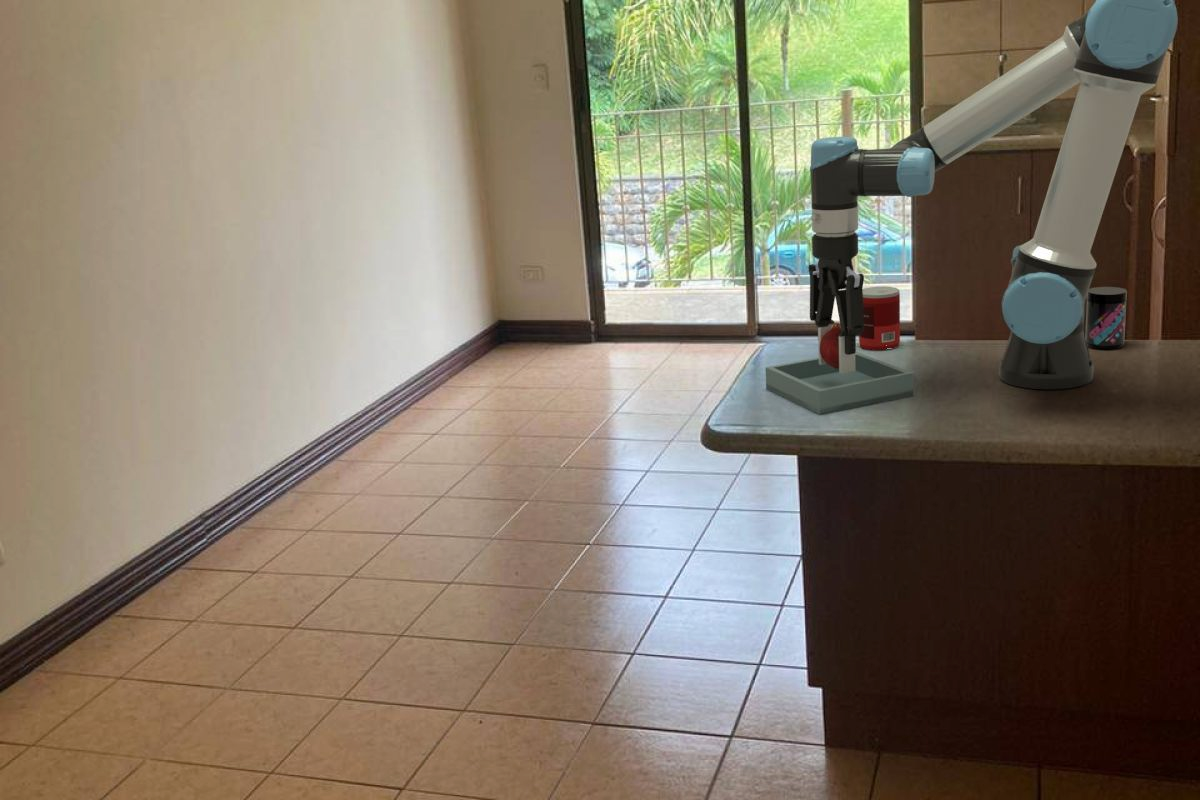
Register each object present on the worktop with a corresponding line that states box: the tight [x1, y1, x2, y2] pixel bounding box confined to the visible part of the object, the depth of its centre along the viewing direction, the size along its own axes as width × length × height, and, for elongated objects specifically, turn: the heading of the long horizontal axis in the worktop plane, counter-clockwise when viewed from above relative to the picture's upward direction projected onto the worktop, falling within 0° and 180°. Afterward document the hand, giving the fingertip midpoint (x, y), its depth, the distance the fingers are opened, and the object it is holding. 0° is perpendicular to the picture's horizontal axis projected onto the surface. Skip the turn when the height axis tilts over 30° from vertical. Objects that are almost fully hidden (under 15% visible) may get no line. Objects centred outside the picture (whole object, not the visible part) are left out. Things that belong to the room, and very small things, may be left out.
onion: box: [818, 322, 842, 369], centre depth 206 cm, size 6×6×8 cm
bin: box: [765, 351, 914, 416], centre depth 208 cm, size 18×18×4 cm
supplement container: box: [1084, 286, 1128, 351], centre depth 222 cm, size 7×7×10 cm
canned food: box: [858, 285, 901, 352], centre depth 234 cm, size 8×8×11 cm
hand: (836, 367), depth 207 cm, fingers closed on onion, 6 cm apart
